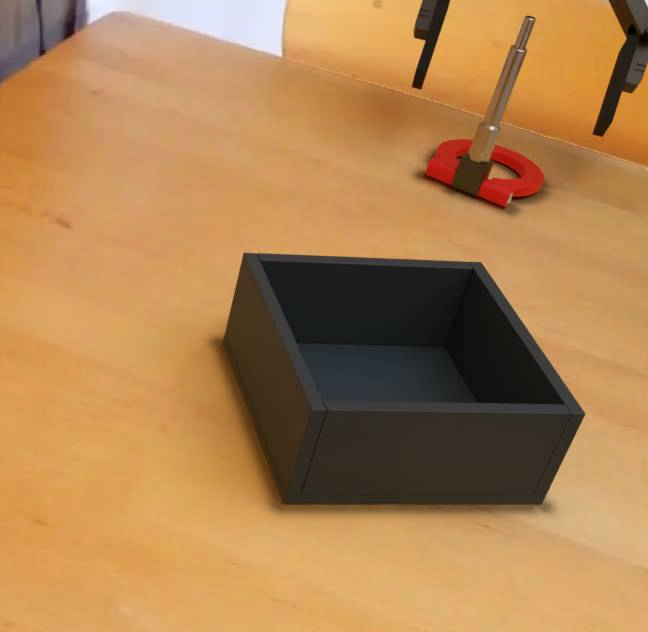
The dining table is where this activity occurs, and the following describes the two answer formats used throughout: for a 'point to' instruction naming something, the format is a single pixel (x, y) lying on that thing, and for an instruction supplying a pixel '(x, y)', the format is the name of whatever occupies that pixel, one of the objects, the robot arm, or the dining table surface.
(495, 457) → the tote
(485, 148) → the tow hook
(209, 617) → the dining table surface
